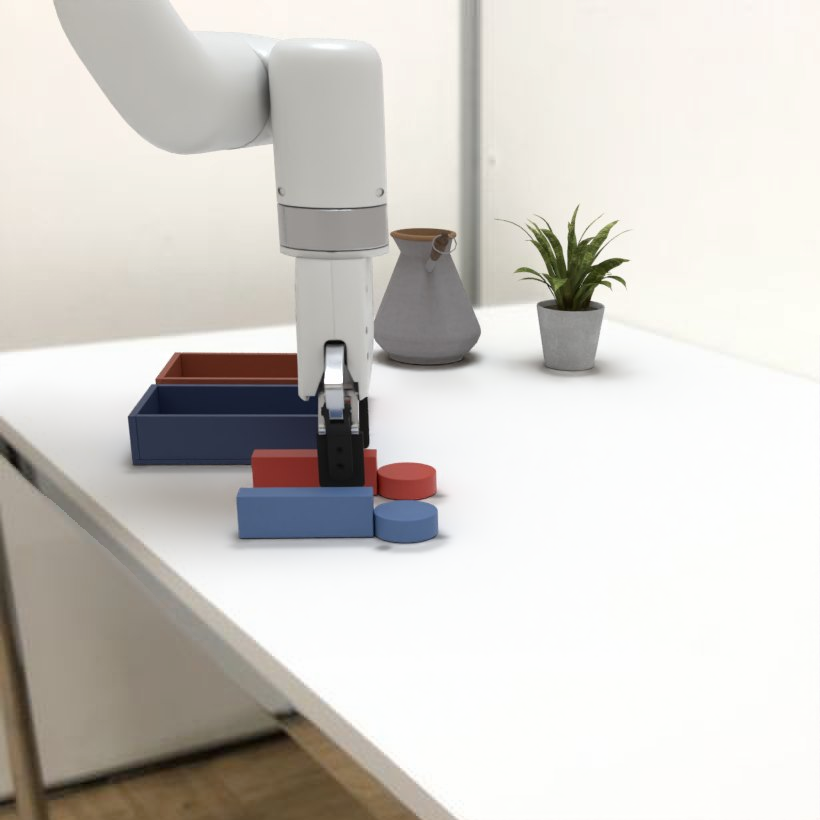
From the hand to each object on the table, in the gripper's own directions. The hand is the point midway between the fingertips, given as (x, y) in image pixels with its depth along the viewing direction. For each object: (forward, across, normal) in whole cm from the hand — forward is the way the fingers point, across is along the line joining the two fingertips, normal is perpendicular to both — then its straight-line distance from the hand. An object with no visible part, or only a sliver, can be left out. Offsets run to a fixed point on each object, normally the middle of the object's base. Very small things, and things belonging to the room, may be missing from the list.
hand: (345, 466), depth 101 cm
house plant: (+2, -41, +20) cm, 46 cm away
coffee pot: (+2, -40, +7) cm, 41 cm away
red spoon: (+2, 0, 0) cm, 2 cm away
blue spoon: (+2, +9, 0) cm, 9 cm away
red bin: (+2, -24, -8) cm, 26 cm away
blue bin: (+2, -12, -8) cm, 15 cm away
